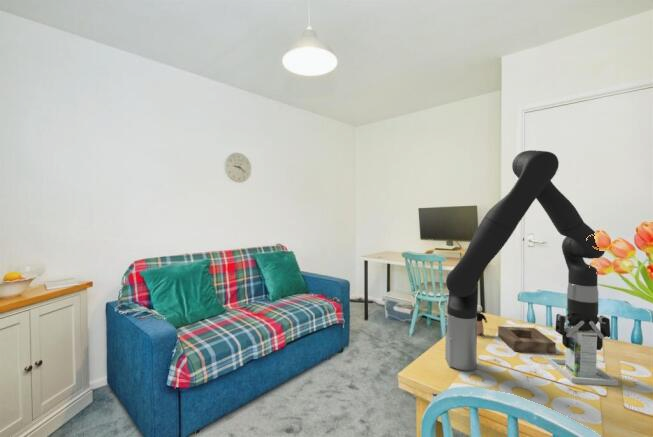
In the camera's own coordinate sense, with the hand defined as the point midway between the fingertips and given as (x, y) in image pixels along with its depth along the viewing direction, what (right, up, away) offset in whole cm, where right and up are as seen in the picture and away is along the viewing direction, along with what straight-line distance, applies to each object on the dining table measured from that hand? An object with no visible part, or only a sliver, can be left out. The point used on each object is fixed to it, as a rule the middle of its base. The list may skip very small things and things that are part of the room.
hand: (582, 348), depth 95 cm
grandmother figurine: (-18, -8, +31) cm, 36 cm away
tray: (0, -8, +1) cm, 8 cm away
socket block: (-4, -8, +21) cm, 23 cm away
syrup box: (0, -9, +1) cm, 9 cm away
